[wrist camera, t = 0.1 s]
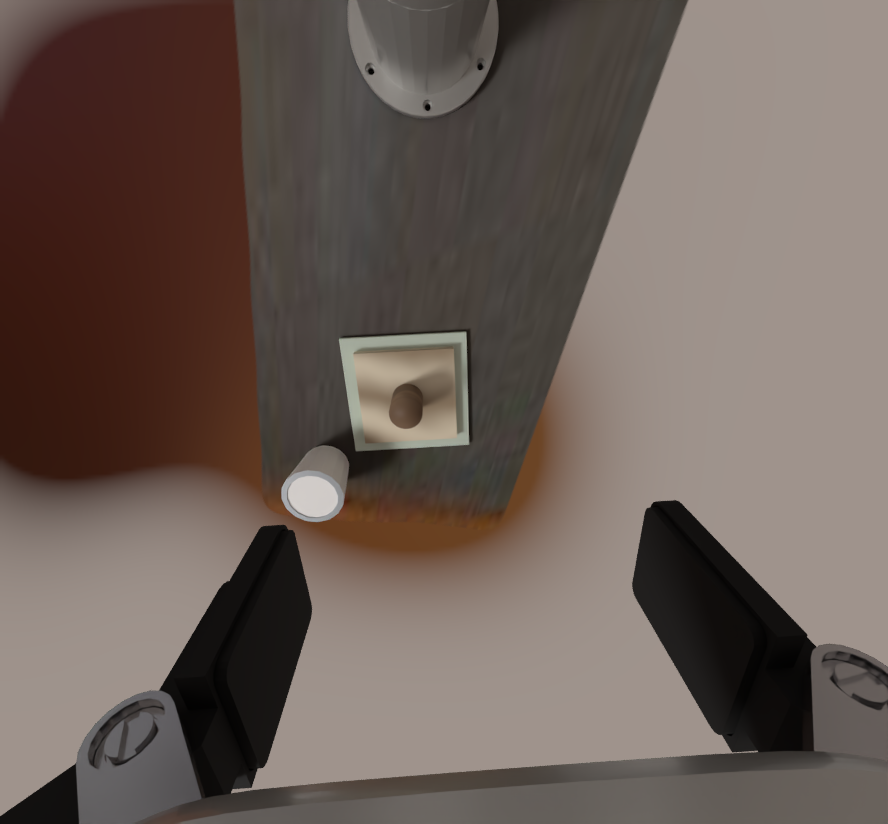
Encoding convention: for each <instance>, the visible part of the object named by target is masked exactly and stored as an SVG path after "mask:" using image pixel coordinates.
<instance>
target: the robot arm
mask: <svg viewBox="0 0 888 824" xmlns="http://www.w3.org/2000/svg"><path fill="white" fill-rule="evenodd" d="M347 14H348V31H349V37H350V42H351V47H352V51H353V54H354V57H355V60H356V62H357V65H358V67H359V69H360V71H361V74H362V76H363V77H364V79H365V80H366V82H367V84H368V85H369V87H370V88H371V90H372V91H373V92H374V93H375V94H376V95H377V96H378V97H379V98H380V100H381V101H383V102H384V103H385V104H387V105H388V106H389V107H390V108H392V109H393V110H395V111H397V112H399V113H401V114H403V115H406V116H410V117H414V118H418V119H433V118H437V117H442V116H445V115H448V114H450V113H452V112H454V111H456V110H458V109H459V108H460V107H462V106H463V105H464V104H465V103H467V102H468V101H469V100H470V99H471V98H472V96H473V95H474V94H475V93H476V92H477V91H478V89H479V88H480V86H481V84H482V83H483V81H484V79H485V78H486V76H487V73H488V71H489V69H490V66H491V64H492V60H493V57H494V54H495V50H496V45H497V38H498V32H499V13H498V6H497V0H348V9H347ZM478 65H481V66H482V67H483V69H482V70H481V71H480V70H478V68H477V66H478ZM371 69H372V70H374V74H373V75H370V74H369V70H371ZM426 105H429V106H430V108H431V109H430V110H429V111H426V110H425V106H426ZM632 587H633V592H634V595H635V597H636V599H637V601H638V603H639V605H640V606H641V608H642V609H643V611H644V613H645V615H646V616H647V618H648V620H649V622H650V623H651V625H652V627H653V628H654V630H655V632H656V634H657V635H658V637H659V639H660V641H661V642H662V644H663V645H664V647H665V649H666V651H667V653H668V654H669V656H670V658H671V660H672V661H673V663H674V665H675V666H676V668H677V670H678V671H679V673H680V675H681V676H682V678H683V680H684V682H685V684H686V685H687V687H688V689H689V691H690V692H691V694H692V696H693V697H694V699H695V701H696V703H697V704H698V706H699V708H700V709H701V711H702V713H703V715H704V716H705V718H706V720H707V722H708V723H709V725H710V726H711V728H712V729H713V731H714V732H715V733H717V734H718V735H722V736H723V737H724V739H725V741H726V743H727V744H728V746H729V748H730V749H731V751H732V752H744V751H758V752H756V753H734V754H713V755H696V756H681V757H666V758H651V759H636V760H622V761H607V762H592V763H579V764H565V765H551V766H538V767H523V768H509V769H497V770H482V771H469V772H457V773H443V774H430V775H418V776H406V777H392V778H380V779H367V780H355V781H342V782H330V783H320V784H310V785H300V786H290V787H280V788H269V789H260V790H251V791H244V792H238V793H232V794H231V791H232V789H240V788H251V787H252V784H253V781H254V778H255V775H256V772H257V769H258V768H263V767H264V766H265V764H266V763H267V760H268V757H269V754H270V751H271V748H272V744H273V741H274V737H275V734H276V731H277V728H278V725H279V721H280V718H281V715H282V712H283V708H284V705H285V702H286V698H287V695H288V692H289V688H290V685H291V682H292V679H293V676H294V672H295V669H296V666H297V662H298V659H299V656H300V653H301V649H302V646H303V643H304V640H305V636H306V633H307V630H308V626H309V623H310V620H311V614H312V605H311V600H310V596H309V592H308V587H307V583H306V579H305V575H304V571H303V566H302V562H301V558H300V554H299V550H298V546H297V542H296V537H295V533H294V532H293V530H288V529H287V527H286V526H285V525H274V526H263V527H261V528H260V529H259V531H258V533H257V534H256V536H255V538H254V540H253V541H252V543H251V545H250V546H249V548H248V550H247V552H246V553H245V555H244V557H243V559H242V560H241V562H240V564H239V565H238V567H237V569H236V571H235V572H234V574H233V576H232V578H231V579H230V581H227V582H226V583H224V584H223V585H222V586H221V588H220V589H219V590H218V592H217V594H216V595H215V597H214V599H213V600H212V602H211V604H210V606H209V607H208V609H207V611H206V612H205V614H204V616H203V617H202V619H201V621H200V622H199V624H198V626H197V627H196V629H195V631H194V633H193V634H192V636H191V638H190V639H189V641H188V643H187V644H186V646H185V648H184V649H183V651H182V653H181V654H180V656H179V658H178V659H177V661H176V663H175V665H174V666H173V668H172V670H171V671H170V673H169V675H168V676H167V678H166V680H165V681H164V683H163V685H162V686H161V688H160V690H159V691H147V692H143V693H140V694H137V695H134V696H132V697H130V698H128V699H126V700H124V701H122V702H121V703H120V704H118V705H117V706H115V707H114V708H113V709H111V710H110V711H108V712H107V713H106V714H105V715H104V716H103V717H102V718H101V719H100V720H99V721H98V722H97V723H96V724H95V725H94V726H93V728H92V729H91V730H90V732H89V733H88V734H87V736H86V737H85V739H84V741H83V743H82V745H81V747H80V749H79V751H78V755H77V762H76V764H75V765H73V766H72V767H70V768H69V769H67V770H66V771H65V772H63V773H62V774H60V775H59V776H57V777H56V778H55V779H53V780H52V781H50V782H49V783H47V784H46V785H44V786H43V787H42V788H40V789H39V790H37V791H36V792H34V793H33V794H32V795H30V796H29V797H27V798H26V799H24V800H23V801H22V802H20V803H19V804H17V805H16V806H14V807H13V808H11V809H10V810H9V811H7V812H6V813H5V814H3V815H2V816H0V824H888V667H887V666H886V665H884V664H883V663H881V662H880V661H878V660H877V659H875V658H873V657H871V656H869V655H867V654H865V653H863V652H861V651H859V650H856V649H853V648H849V647H846V646H843V645H836V644H824V645H819V646H818V647H816V646H815V645H814V644H813V643H812V642H811V641H810V640H809V639H808V638H807V634H806V633H805V632H804V631H803V630H802V629H801V627H799V625H798V624H797V623H796V622H795V621H794V620H793V619H792V618H791V617H790V616H789V615H788V614H787V613H786V612H785V611H784V610H783V609H782V608H781V607H780V606H779V605H778V604H777V602H776V601H775V600H774V599H773V598H772V597H771V596H770V595H769V594H768V593H767V592H766V591H765V590H764V589H763V588H762V587H761V586H760V585H759V584H758V583H757V582H756V581H755V580H754V579H753V577H752V576H750V574H749V573H748V572H747V571H746V570H745V569H744V568H743V567H742V566H741V565H740V564H739V563H738V562H737V561H736V560H735V559H734V558H733V557H732V556H731V555H730V554H729V553H728V552H727V551H726V550H725V548H724V547H723V546H722V545H721V544H720V543H719V542H718V541H717V540H716V539H715V538H714V537H713V536H712V535H711V534H710V533H709V532H708V531H707V530H706V529H705V528H704V527H703V526H702V525H701V524H700V522H699V521H698V520H697V519H696V518H695V517H694V516H693V515H692V514H691V513H690V512H689V511H688V510H687V509H686V508H685V507H684V506H683V505H682V504H681V503H680V502H679V501H676V500H674V501H658V502H653V504H652V505H651V508H647V509H646V511H645V515H644V521H643V526H642V532H641V538H640V543H639V549H638V554H637V560H636V566H635V571H634V577H633V583H632Z"/></svg>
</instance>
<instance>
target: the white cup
mask: <svg viewBox="0 0 888 824" xmlns="http://www.w3.org/2000/svg"><path fill="white" fill-rule="evenodd" d="M348 472H349V462H348V459H347V457H346V456H345V454H344V453H343V452H342V451H341V450H339V449H337V448H335V447H333V446H325V445H322V446H318V447H314V448H313V449H312V450H310V451H309V452H308V453H307V454H306V455H305V457H304V458H303V459H302V460H301V462H300V463H299V464H298V466H297V467H296V468H295V469H294V471H293V472H292V473H291V474H290V476H289V477H288V478H287V479H286V481H285V483H284V485H283V487H282V501H283V503H284V505H285V507H286V509H288V510H289V511H290V512H291V513H292V514H293V515H294V516H296V517H298V518H301V519H303V520H305V521H313V522H320V521H324V520H329V519H331V518H332V517H334V516H335V515H336V514H338V513H339V511H340V509H341V508H342V506H343V503H344V497H345V491H346V485H347V478H348Z"/></svg>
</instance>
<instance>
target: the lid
mask: <svg viewBox="0 0 888 824" xmlns="http://www.w3.org/2000/svg"><path fill="white" fill-rule="evenodd" d="M353 357H354V365H355V372H356V379H357V386H358V394H359V401H360V408H361V415H362V423H363V430H364V437H365V444H366V443H383V442H400V441H418V440H435V439H452V438H457V421H456V394H455V367H454V347H453V346H449V347H431V348H412V349H394V350H376V351H357V352H354V353H353Z"/></svg>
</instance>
